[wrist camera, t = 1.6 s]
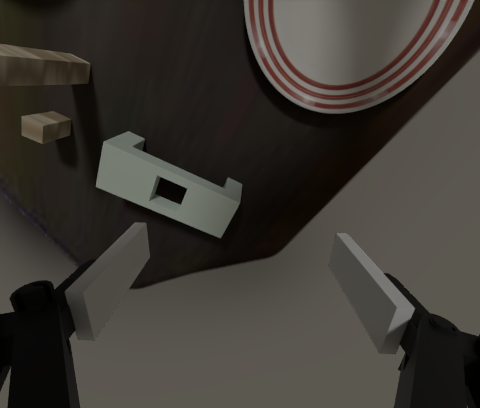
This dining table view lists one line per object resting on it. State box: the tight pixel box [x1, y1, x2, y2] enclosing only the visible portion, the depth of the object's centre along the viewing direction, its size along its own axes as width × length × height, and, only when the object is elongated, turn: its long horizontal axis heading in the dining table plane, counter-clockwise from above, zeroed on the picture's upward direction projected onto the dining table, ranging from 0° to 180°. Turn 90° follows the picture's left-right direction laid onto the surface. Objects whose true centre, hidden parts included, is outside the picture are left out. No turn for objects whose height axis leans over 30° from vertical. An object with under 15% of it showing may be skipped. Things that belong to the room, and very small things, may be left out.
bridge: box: [96, 131, 242, 238], centre depth 40 cm, size 8×22×8 cm, turn 64°
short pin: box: [22, 111, 71, 144], centre depth 37 cm, size 3×3×6 cm
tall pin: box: [0, 44, 91, 86], centre depth 27 cm, size 3×3×18 cm
